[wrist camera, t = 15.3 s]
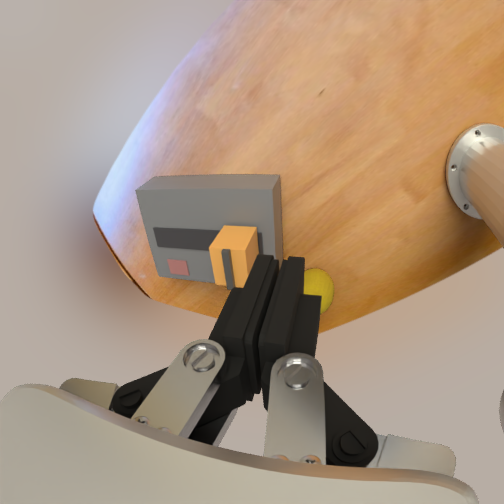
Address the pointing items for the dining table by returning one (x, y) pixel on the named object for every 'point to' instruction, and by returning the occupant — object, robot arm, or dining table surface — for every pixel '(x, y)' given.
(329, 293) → the lemon
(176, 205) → the switch panel
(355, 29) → the dining table surface
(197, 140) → the dining table surface
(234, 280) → the orange block
